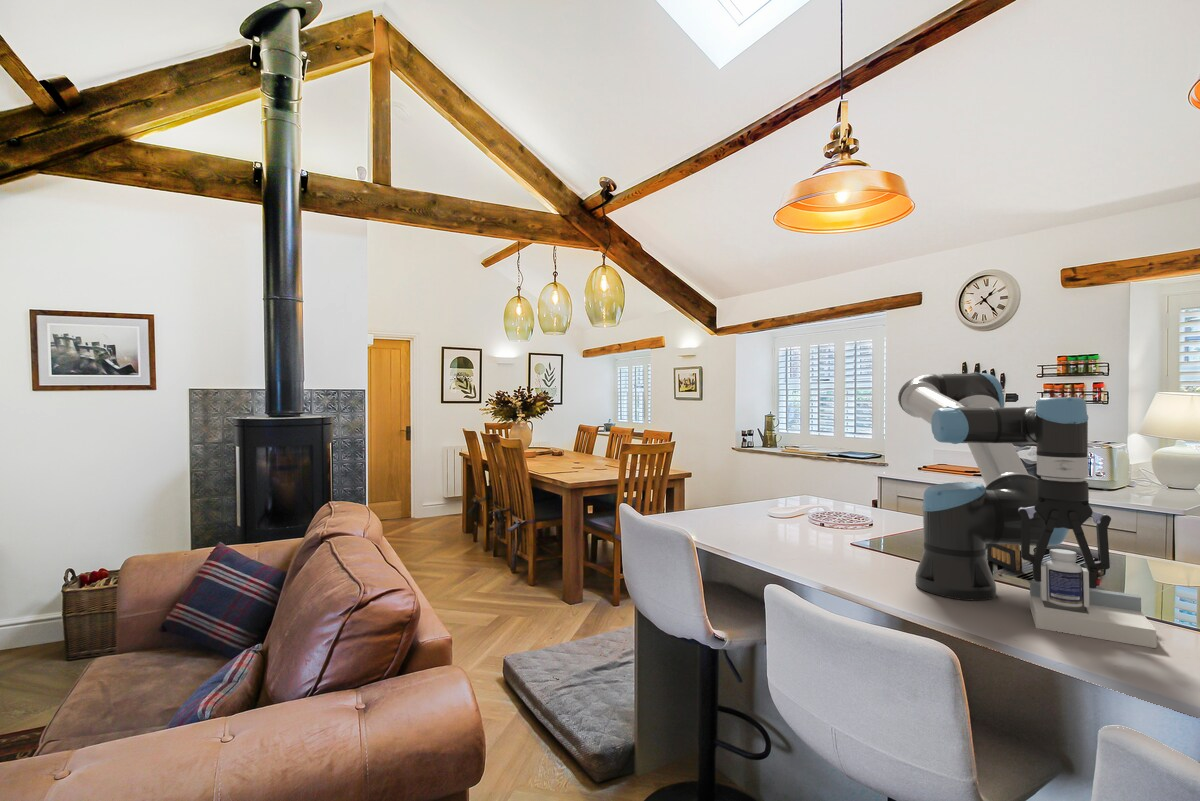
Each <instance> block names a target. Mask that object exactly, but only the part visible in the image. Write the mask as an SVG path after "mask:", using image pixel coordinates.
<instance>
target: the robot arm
mask: <svg viewBox="0 0 1200 801" xmlns="http://www.w3.org/2000/svg"><path fill="white" fill-rule="evenodd" d="M1003 390H1004V389H1003V386H1002V384H1001V382H1000V381H999V379H998V378H997V377H996V376H995V375H993V374H990V373H985V372H983V373H982V372H977V371H976V372H970V373H926V374H922V375H917V376H916V377H913V378H911V379H910V380H908V381H907V382H905V383H904V384H903V385H902V386H901V388H900V389H899V392H898V395H897V402H898V404H899V406H900V408H901V409H902V410H903V412H905V414H907V415H909V416H910V417H914V418H918V419H919V418H921V419H922V420H923V421H925V422H927V424H930V425H931V426H930V427H931V433H932V435H933V437H934V439H935V441H937V442H938V443H945V444H947V443H949V444H954V445H957V444H967V445H968V448H969V450H970V452H971V454H972V456H973V459H974V461H975V463H976V466H977V468H978V471H979V473H980V475H981V477H982V480H983V481H984V483H985V485H984V484H982V483H979V482H973V481H972V482H971V481H970V482H969V481H968V482H963V481H960V482H959V481H957V482H956V481H955V482H947V483H945V482H943V483H939V484H934V485H930V486H928V487H926V489H925V490H924V492H923V500H922V507H921V509H922V513H923V514H922V515H923V517H922V518H923V520H922V521H923V553H922V555H921V558H920V561H919V564H918V566H917V570H916V572H915V586H916V587H917V588H919V589H921V590H923V591H925V592H927V593H931V594H933V595H937V596H941V597H946V598H951V599H956V600H957V599H958V600H967V601H985V600H991V599H993V598H995V597H996V596H997V585H996V582H995V580H994V579H995V578H994V576H993V574H992V570H991V568H990V565H989V563H988V560H987V555H986V554H987V551H986V547H987V546H986V545H987V544H1008V545H1020V550H1021V556H1022V560H1023V561H1027V562H1029V563H1032V578H1033V581H1037V582H1040V596H1041V599H1042V600H1044V601H1047V580H1046V565H1045V564H1046V562H1043V560H1044V556H1045V554H1046V551H1047V548H1048V547H1055V546H1058V545H1060V544H1062V543H1063V542H1064V541H1065V539H1066V537H1067V535H1068V532H1069V530H1072V532H1073V534H1074V536H1075V540H1076V542H1077V545H1078V548H1079V550H1080V553H1081V555H1082V558H1083V562H1084V563H1085V564H1084V565H1085V566H1086V567H1082V566H1081V568H1082V581H1083V605H1084V606H1085V607H1089V588H1090V589H1097V583H1098V582H1097V572H1099V571H1101V570H1109V569H1110V568H1111V566H1110V564H1111V561H1110V550H1109V533H1108V532H1109V531H1108V529H1109V525H1110V523H1111V521H1112V517H1111V516H1110V515H1108V513H1105V512H1103V513H1101V512H1098V511H1095V510H1093V508H1092V507H1091V505H1090V503H1089V498H1090V496H1089V494H1090V493H1089V482H1088V481H1087V480H1085V479H1087V478H1088V477H1089V470H1088V469H1089V466H1088V465H1089V463H1088V462H1089V461H1088V460H1089V459H1088V458H1089V456H1088V451H1089V450H1088V445H1089V444H1088V441H1089V440H1088V439H1089V438H1088V429H1089V428H1088V421H1089V415H1088V411H1087V410H1088V408H1087V401H1086V400H1085V399H1084V398H1083V397H1077V396H1076V397H1075V396H1073V397H1072V396H1070V397H1065V396H1063V397H1061V396H1060V397H1040V398H1037V401H1036V402H1035V406H1019V407H1004V406H1005V405H1004V404H1005V394H1004V393H1003ZM1014 444H1026V445H1027V444H1030V445H1032V444H1034V445H1036V474H1037V476H1039V478H1038V477H1037V476H1034V475H1032V474H1029V473H1028V471H1027V468H1026V467H1025V465H1024V462H1022V459H1021V457H1020V455H1019V454H1018V451H1017V450H1016V448H1015V446H1014ZM1090 517H1092V521H1093V523H1094V524H1096V526H1095V527H1096V528H1095V529H1096V544H1097V545H1096V546H1097V557H1098V560H1097V561H1095V560H1094V556H1093V554H1092V552H1091V550H1090V546H1089V544H1088V541H1087V539H1086V536H1085V532H1084V530H1083V527H1082V525H1083V524H1084V523H1085V522H1086V521H1088V519H1089V518H1090ZM1031 546H1032V547H1033V546H1035V549H1034V552H1033V554H1032V553H1031Z"/></svg>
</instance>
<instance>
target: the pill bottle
mask: <svg viewBox="0 0 1200 801" xmlns="http://www.w3.org/2000/svg"><path fill="white" fill-rule="evenodd" d="M1049 558H1050V560H1047V561H1046V562H1045V565H1046V580H1047V600H1048V601H1049V602H1051V603H1053V604H1056V605H1060V606H1065V607H1081V606H1082V605H1083V581H1082V568H1083V567H1082V566H1081V565H1080V564H1078V563H1076V562H1077V560H1078V553H1077V552H1076V551H1073V550H1069V549H1061V548H1051V549H1049ZM1081 567H1082V568H1081Z"/></svg>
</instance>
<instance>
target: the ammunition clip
mask: <svg viewBox="0 0 1200 801" xmlns="http://www.w3.org/2000/svg"><path fill="white" fill-rule="evenodd" d="M986 545H987V546H986V547H987V548H986V549H987V550H986V554H987V555H986V560H987V561H988V562H992V563H994V564H996V565H998V566H1001V567H1003V568H1005V569H1008V570H1009V571H1012V572H1016V573H1017V572H1019V573H1020V572H1021V573H1022V572H1023V558H1022V556H1021V545H1008V544H986Z"/></svg>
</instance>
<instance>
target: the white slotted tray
mask: <svg viewBox="0 0 1200 801" xmlns="http://www.w3.org/2000/svg"><path fill="white" fill-rule="evenodd" d="M1029 605H1030V606H1029V608H1030V611H1031V615H1032V619H1033V622H1034V626H1035V628H1036V629H1039V630H1046V631H1052V632H1056V631H1057V632H1058V633H1062V632H1063V633H1064V634H1068V633H1069V634H1071V635H1074V634H1075V635H1076V636H1080V635H1081V637H1087V638H1094V639H1099V640H1105V641H1110V642H1111V641H1112V642H1115V643H1116V642H1118V643H1122V644H1123V643H1124V644H1128V645H1135V646H1140V647H1147V648H1152V649H1157V630H1156V628H1155V627H1154V625H1153V624H1152V623H1151V622H1150V620H1149V619H1148V618H1147V617H1146V616H1145V614H1144V613H1143V612H1142V598H1141V597H1140V595H1139V594H1134V593H1127V592H1120V591H1113V590H1105V589H1104V590H1103V589H1097V588H1095V589H1094V588H1089V607H1085V606H1084V605H1082V606H1081V607H1065V606H1060V605H1056V604H1053V603H1051V602H1049V601H1048V600H1047V601H1044V600H1042V599H1041V596H1040V581H1035V580H1029ZM1063 633H1062V634H1063Z"/></svg>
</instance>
